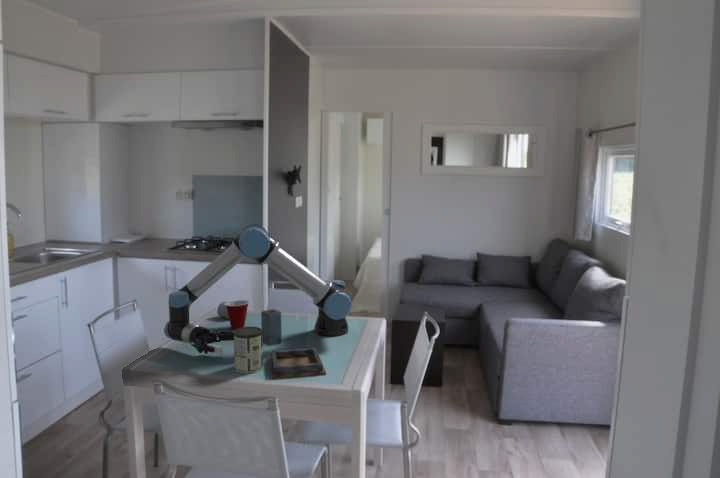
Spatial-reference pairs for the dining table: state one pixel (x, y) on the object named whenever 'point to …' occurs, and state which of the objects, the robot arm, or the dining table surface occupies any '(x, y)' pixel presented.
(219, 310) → the ceramic mug
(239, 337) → the coffee can
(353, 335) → the dining table surface
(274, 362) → the tray
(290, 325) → the dining table surface
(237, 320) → the plastic cup
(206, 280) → the robot arm
